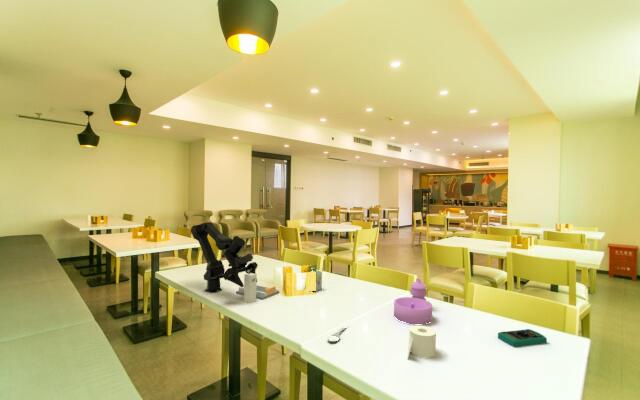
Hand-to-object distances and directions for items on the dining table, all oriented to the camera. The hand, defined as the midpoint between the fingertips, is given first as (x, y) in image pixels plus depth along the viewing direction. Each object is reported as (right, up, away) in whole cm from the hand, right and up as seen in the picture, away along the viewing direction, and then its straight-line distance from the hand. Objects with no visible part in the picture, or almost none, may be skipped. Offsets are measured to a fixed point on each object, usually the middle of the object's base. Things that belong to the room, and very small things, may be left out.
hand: (250, 284), depth 147 cm
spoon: (+41, -10, -32) cm, 53 cm away
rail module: (0, -8, 0) cm, 8 cm away
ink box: (+31, -9, +19) cm, 37 cm away
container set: (+75, -10, -13) cm, 77 cm away
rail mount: (+1, -8, +13) cm, 15 cm away
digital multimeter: (+106, -11, -37) cm, 113 cm away
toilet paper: (+65, -10, -47) cm, 81 cm away
